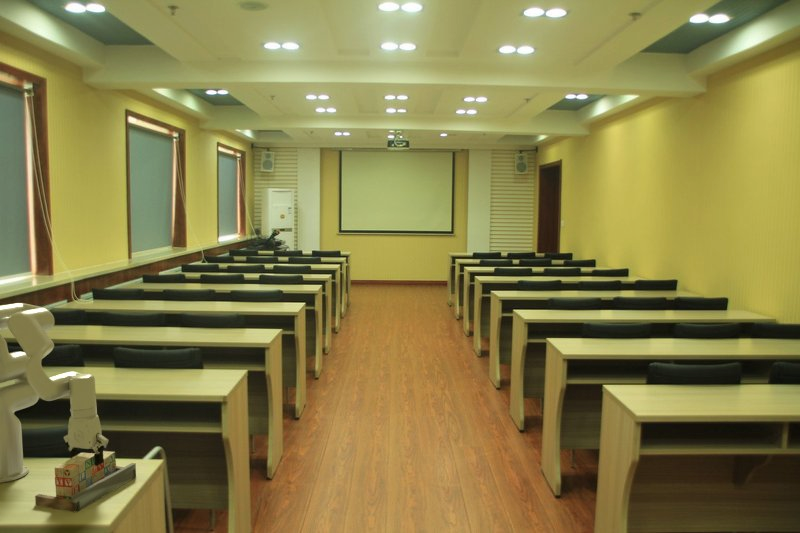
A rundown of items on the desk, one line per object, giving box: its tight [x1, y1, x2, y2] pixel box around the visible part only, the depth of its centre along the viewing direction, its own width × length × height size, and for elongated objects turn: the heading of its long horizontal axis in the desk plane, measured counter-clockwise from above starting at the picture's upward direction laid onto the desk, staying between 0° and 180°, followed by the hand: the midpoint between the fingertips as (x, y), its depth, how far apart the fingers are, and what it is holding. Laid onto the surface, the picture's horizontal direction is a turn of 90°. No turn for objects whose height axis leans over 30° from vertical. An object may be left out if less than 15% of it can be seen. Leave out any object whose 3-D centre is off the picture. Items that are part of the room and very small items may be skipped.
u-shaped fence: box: [34, 462, 137, 513], centre depth 202 cm, size 16×26×5 cm, turn 163°
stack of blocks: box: [54, 450, 117, 500], centre depth 202 cm, size 21×6×12 cm, turn 169°
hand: (87, 462), depth 202 cm, fingers open, 9 cm apart
